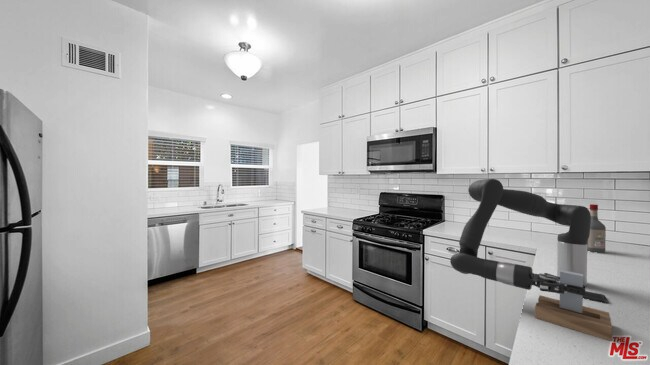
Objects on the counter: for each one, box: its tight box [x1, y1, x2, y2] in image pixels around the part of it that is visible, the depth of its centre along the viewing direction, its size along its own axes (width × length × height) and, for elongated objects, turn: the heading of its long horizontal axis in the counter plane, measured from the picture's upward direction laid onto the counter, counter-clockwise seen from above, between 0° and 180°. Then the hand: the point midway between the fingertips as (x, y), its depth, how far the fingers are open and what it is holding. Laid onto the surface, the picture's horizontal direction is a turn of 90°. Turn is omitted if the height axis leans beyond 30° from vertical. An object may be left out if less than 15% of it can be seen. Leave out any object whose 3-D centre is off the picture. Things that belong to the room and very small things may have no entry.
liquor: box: [587, 203, 607, 254], centre depth 164 cm, size 9×9×30 cm
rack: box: [534, 294, 613, 342], centre depth 78 cm, size 12×16×4 cm
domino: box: [559, 270, 584, 313], centre depth 78 cm, size 2×5×11 cm, turn 44°
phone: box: [558, 290, 609, 304], centre depth 98 cm, size 8×1×15 cm
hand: (584, 290), depth 76 cm, fingers closed on domino, 2 cm apart
